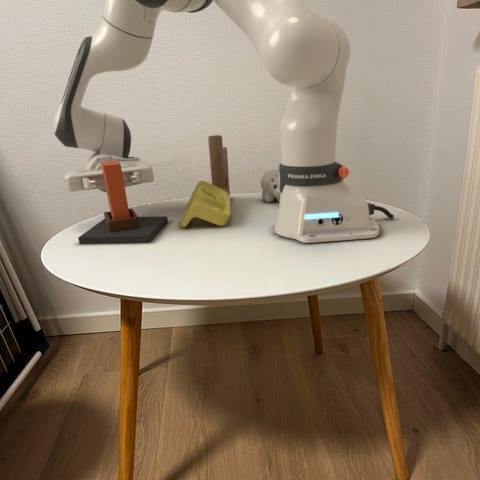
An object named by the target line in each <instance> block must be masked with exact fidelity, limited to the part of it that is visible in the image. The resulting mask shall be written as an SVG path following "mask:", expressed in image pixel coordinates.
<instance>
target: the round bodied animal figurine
mask: <svg viewBox="0 0 480 480" xmlns="http://www.w3.org/2000/svg"><path fill="white" fill-rule="evenodd" d="M278 175H279V168H271V169H268V170H267V171H265V172H264V173H263V175H262V176H261V179H260V187H261V190H262V192H261V198H262V199H263V200H264V202H266V203H272V202H274V200H275V201H276V202H279V203H280V191H279V177H278Z"/></svg>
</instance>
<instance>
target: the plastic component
mask: <svg viewBox="0 0 480 480" xmlns="http://www.w3.org/2000/svg"><path fill="white" fill-rule="evenodd" d="M231 203H232V202H231V194H230V195H229V194H228V193H227V192H226V191H224V190H223V189H221V188H219V187H216V186H215V185H213V184H212V183H210V182H207V181H206V180H199V181H198V182H197V184H196V185H195V188H194V189H193V191H192V194H191V196H190V198H189V200H188V202H187V204H186V207H185V209H184V212H183V215H182V218H181V222H180V225H179V227H182V228H186V227H188V224H189V223H190V222H191V220H192V219H193V218H198V219H201V220H203V221H206V222H208V223H211V224H213V225H217V226H220V227H224V226H226V225H227V224H228V221H229V218H230V216H231V213H232V212H231V211H232V208H231V207H232V204H231Z"/></svg>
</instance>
